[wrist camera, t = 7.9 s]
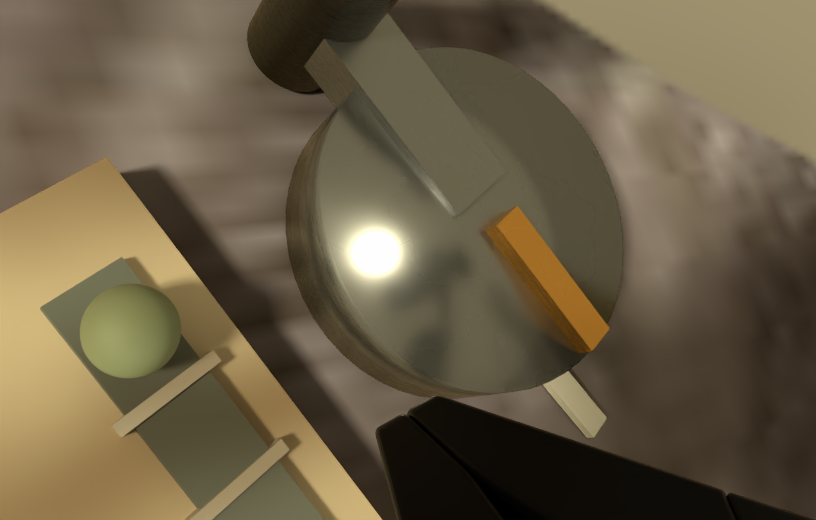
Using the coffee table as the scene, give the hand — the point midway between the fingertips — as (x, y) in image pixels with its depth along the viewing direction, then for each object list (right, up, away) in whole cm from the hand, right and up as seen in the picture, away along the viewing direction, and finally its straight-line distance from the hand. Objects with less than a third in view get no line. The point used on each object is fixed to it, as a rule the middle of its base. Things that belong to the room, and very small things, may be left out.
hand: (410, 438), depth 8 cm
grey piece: (0, +4, +12) cm, 12 cm away
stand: (-7, -3, +6) cm, 10 cm away
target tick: (+5, -2, +13) cm, 14 cm away
